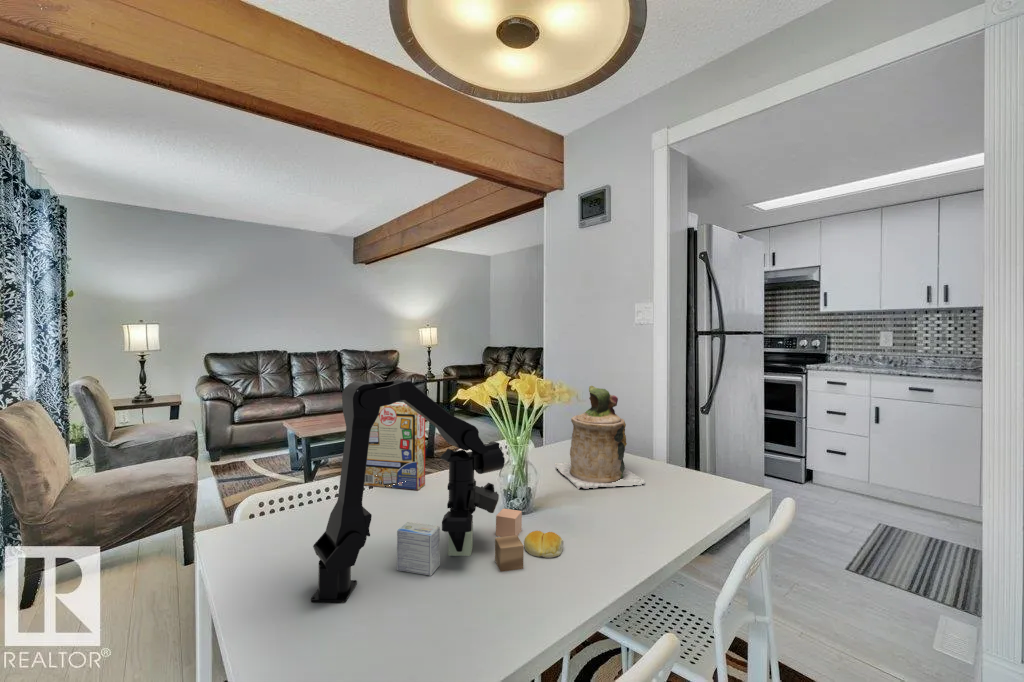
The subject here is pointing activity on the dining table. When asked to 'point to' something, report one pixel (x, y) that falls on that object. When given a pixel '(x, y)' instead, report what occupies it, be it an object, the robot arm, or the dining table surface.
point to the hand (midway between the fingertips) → (460, 545)
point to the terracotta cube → (508, 523)
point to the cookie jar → (598, 445)
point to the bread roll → (543, 544)
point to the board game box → (396, 448)
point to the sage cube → (466, 545)
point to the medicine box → (418, 548)
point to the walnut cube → (509, 553)
